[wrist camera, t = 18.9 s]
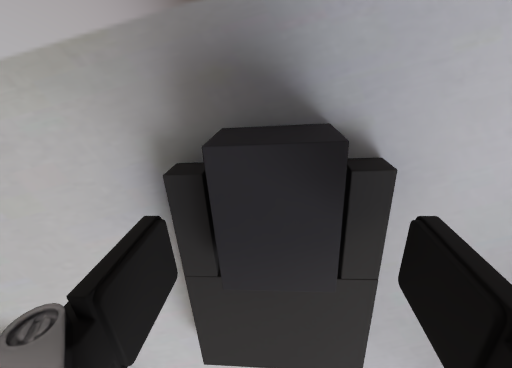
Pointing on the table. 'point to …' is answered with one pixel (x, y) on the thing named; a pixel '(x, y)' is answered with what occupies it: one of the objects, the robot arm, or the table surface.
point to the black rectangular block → (277, 205)
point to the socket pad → (285, 302)
